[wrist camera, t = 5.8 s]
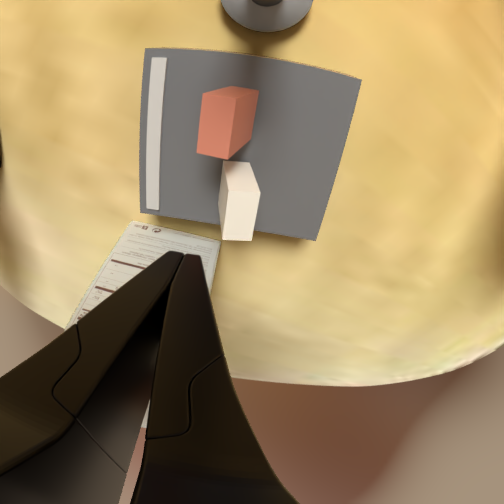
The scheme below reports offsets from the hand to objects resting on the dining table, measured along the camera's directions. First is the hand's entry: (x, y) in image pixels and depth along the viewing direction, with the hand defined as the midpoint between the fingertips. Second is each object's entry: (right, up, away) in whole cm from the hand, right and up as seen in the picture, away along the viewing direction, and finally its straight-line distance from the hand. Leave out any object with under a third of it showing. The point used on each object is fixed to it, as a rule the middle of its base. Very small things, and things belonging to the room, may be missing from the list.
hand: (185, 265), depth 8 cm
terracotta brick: (+1, +7, +7) cm, 10 cm away
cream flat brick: (+1, +4, +9) cm, 10 cm away
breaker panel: (+1, +8, +10) cm, 13 cm away
